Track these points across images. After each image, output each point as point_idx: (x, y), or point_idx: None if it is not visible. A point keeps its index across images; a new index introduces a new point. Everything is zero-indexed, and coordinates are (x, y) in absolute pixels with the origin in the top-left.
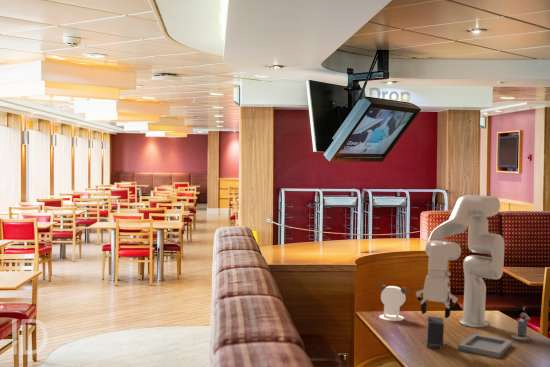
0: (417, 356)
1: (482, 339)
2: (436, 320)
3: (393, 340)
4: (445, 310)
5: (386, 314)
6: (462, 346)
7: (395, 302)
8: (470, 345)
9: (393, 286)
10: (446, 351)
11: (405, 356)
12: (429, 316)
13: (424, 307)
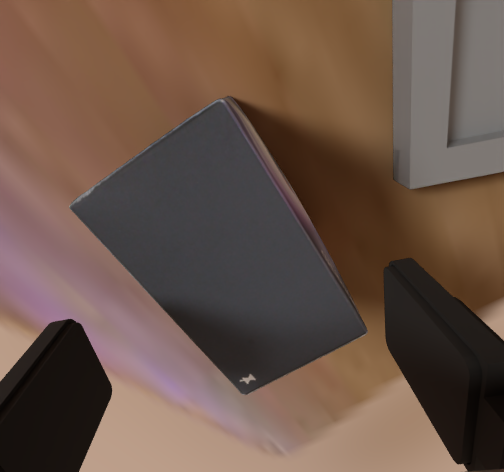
0: (280, 393)
1: None
2: (258, 296)
3: (38, 297)
4: (444, 433)
5: None
6: (437, 182)
7: None
8: (453, 43)
9: None
10: (348, 246)
11: (246, 421)
12: (87, 203)
13: (66, 455)
